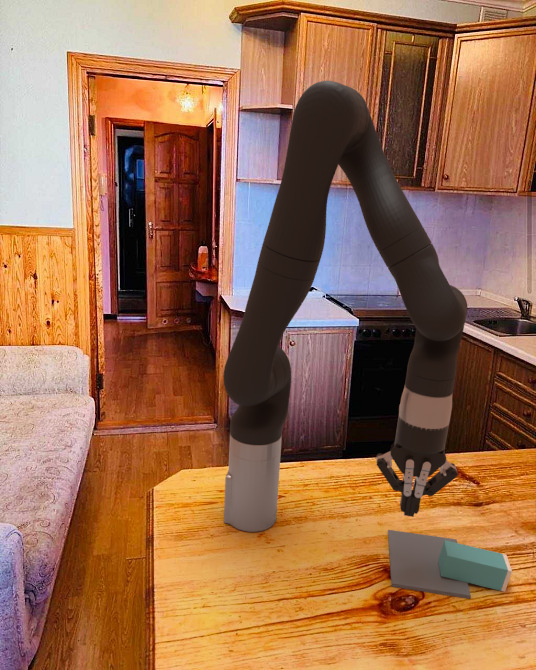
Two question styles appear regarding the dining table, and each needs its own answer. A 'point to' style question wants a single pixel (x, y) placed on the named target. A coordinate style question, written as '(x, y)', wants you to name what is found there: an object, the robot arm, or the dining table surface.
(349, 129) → the robot arm
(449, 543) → the block
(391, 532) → the mat
